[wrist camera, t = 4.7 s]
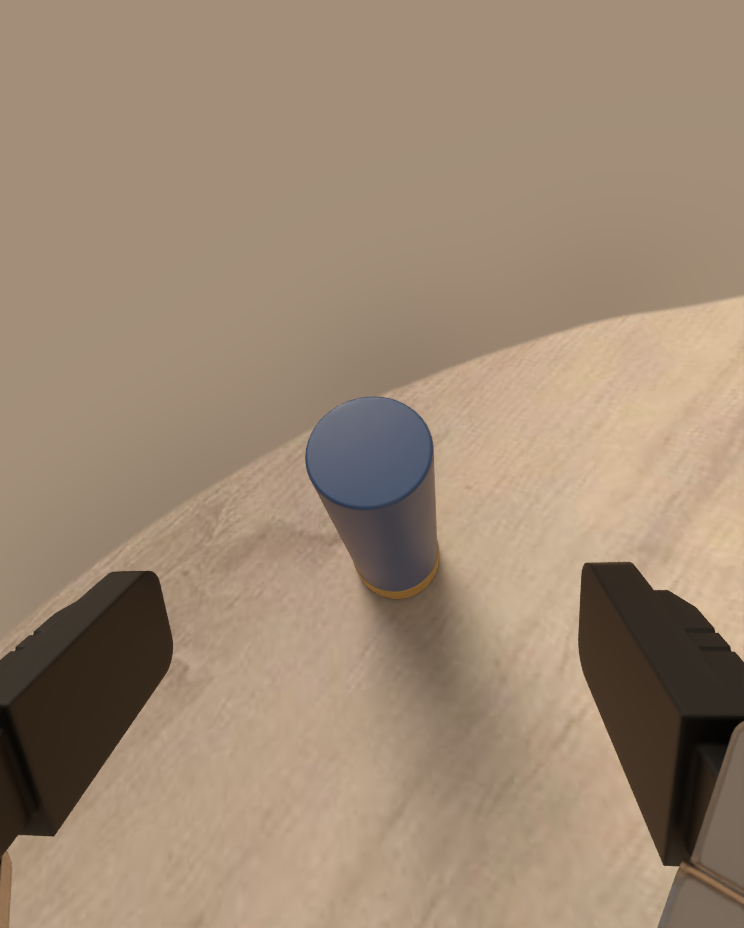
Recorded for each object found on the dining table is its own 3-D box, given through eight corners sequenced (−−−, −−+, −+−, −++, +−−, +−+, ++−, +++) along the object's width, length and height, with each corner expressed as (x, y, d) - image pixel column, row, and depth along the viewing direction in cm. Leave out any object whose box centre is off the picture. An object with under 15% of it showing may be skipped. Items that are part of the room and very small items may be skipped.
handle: (340, 569, 20) (275, 467, 12) (387, 505, 21) (354, 374, 13) (408, 617, 18) (384, 537, 11) (455, 547, 19) (461, 430, 12)
